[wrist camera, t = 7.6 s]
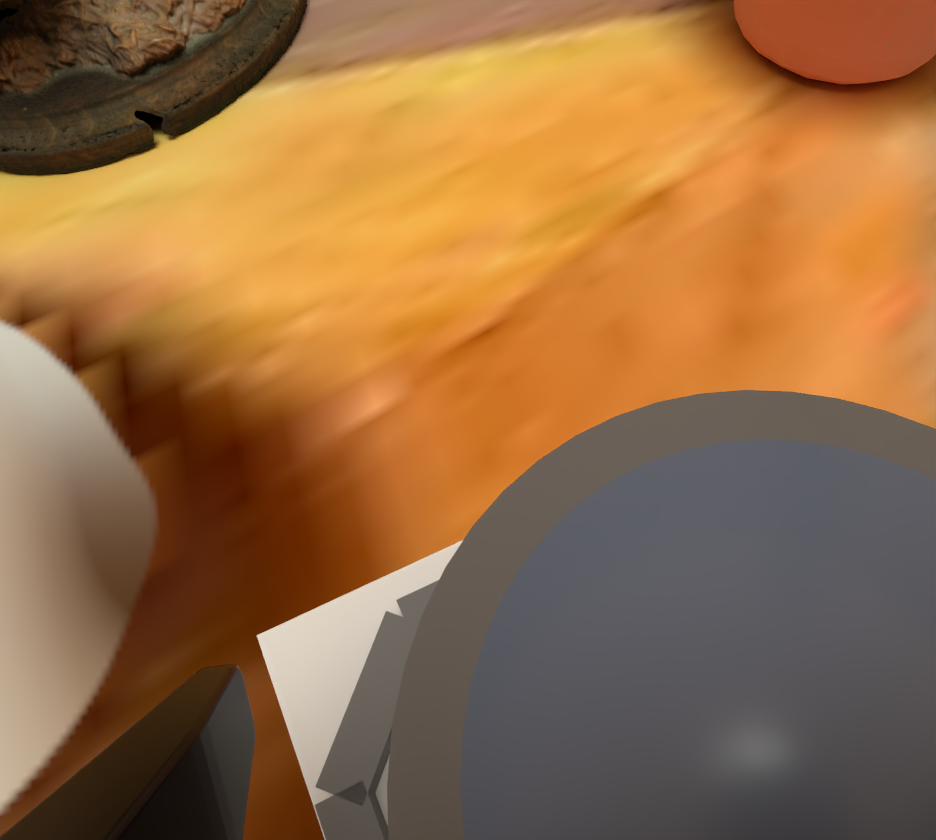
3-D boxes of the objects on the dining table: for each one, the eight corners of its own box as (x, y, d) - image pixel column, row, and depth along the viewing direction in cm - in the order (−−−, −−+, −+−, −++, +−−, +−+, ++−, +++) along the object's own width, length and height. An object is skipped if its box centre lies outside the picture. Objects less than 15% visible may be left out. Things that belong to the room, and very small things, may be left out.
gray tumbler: (732, 754, 15) (1437, 672, 4) (608, 991, 13) (1255, 2018, 2) (536, 613, 17) (657, 260, 5) (400, 811, 15) (166, 892, 4)
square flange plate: (920, 1012, 16) (1059, 1081, 12) (509, 1296, 14) (521, 1482, 10) (612, 503, 21) (641, 441, 17) (287, 657, 19) (241, 624, 15)
